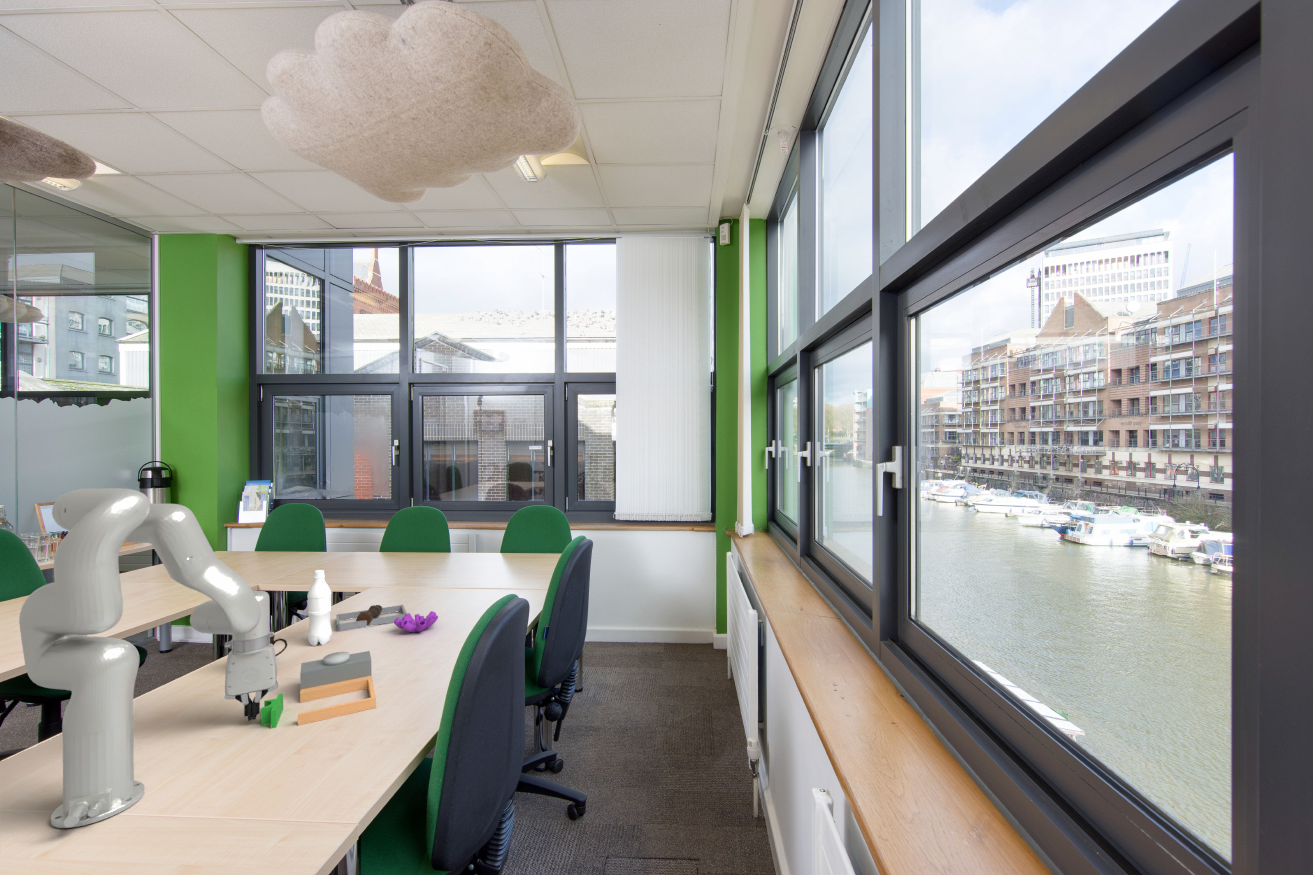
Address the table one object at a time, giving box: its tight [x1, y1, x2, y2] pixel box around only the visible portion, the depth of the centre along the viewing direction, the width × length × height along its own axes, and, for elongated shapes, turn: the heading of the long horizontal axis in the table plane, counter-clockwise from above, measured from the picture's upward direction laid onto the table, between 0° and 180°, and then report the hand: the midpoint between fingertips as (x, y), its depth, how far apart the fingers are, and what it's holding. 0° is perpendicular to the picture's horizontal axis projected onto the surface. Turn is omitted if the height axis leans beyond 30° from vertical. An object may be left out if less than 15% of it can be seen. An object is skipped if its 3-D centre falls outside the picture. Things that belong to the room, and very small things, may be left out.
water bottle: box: [307, 569, 333, 647], centre depth 193 cm, size 7×7×25 cm
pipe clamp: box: [260, 692, 284, 729], centre depth 139 cm, size 10×4×4 cm, turn 26°
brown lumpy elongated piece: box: [355, 604, 383, 625], centre depth 217 cm, size 6×5×15 cm
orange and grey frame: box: [297, 650, 377, 726], centre depth 151 cm, size 24×17×8 cm
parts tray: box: [335, 604, 408, 632], centre depth 217 cm, size 15×24×2 cm, turn 120°
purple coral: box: [393, 610, 439, 633], centre depth 204 cm, size 11×15×10 cm
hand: (252, 717), depth 138 cm, fingers closed
